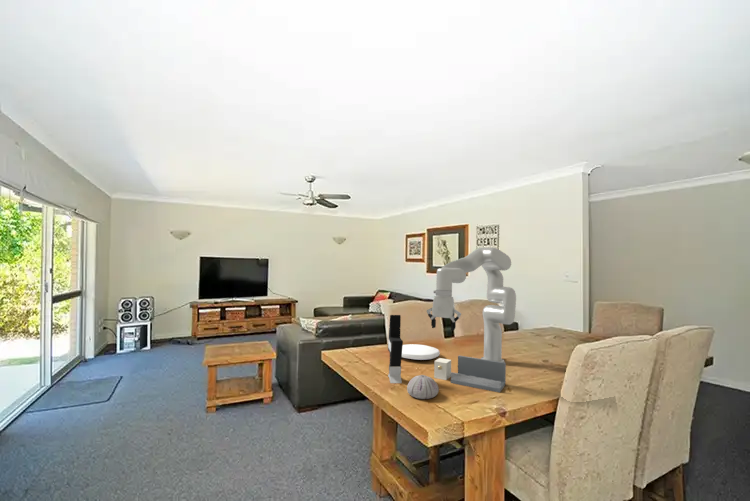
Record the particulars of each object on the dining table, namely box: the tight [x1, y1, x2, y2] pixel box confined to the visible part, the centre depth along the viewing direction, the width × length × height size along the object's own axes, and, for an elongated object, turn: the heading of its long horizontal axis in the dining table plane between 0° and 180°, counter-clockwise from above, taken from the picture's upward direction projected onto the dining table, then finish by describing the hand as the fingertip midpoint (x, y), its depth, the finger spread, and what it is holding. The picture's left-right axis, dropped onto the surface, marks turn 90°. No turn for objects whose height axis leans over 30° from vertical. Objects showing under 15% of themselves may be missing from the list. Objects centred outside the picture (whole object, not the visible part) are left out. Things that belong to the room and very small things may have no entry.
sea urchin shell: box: [406, 374, 440, 400], centre depth 153 cm, size 13×14×8 cm
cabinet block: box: [433, 357, 452, 381], centre depth 177 cm, size 8×6×8 cm
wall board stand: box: [450, 354, 507, 394], centre depth 168 cm, size 12×22×10 cm, turn 59°
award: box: [387, 314, 404, 384], centre depth 173 cm, size 15×5×30 cm, turn 5°
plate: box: [402, 343, 441, 361], centre depth 213 cm, size 28×6×27 cm
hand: (443, 328), depth 177 cm, fingers open, 9 cm apart
